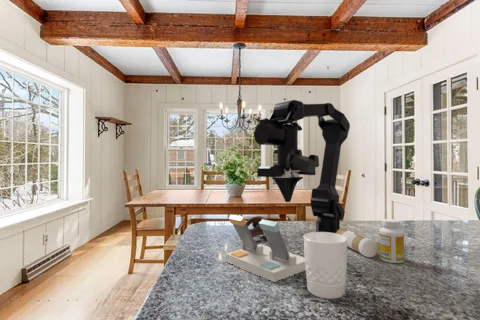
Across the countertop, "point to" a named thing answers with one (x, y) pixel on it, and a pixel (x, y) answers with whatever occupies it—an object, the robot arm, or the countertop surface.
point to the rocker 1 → (243, 232)
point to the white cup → (325, 264)
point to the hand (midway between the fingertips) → (287, 201)
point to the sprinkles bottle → (359, 243)
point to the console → (265, 262)
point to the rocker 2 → (275, 240)
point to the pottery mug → (255, 226)
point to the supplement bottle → (391, 241)
